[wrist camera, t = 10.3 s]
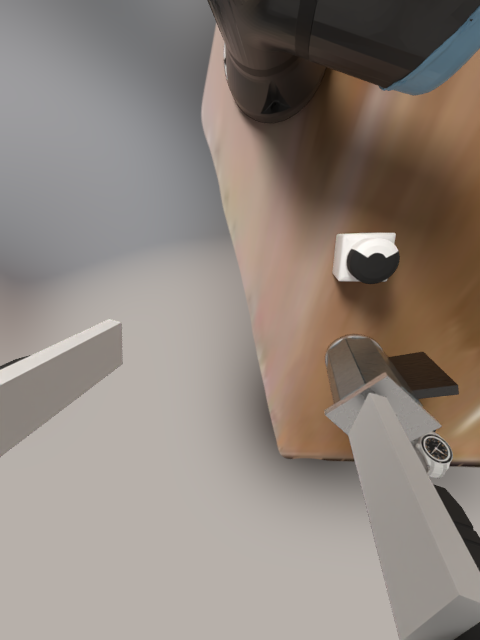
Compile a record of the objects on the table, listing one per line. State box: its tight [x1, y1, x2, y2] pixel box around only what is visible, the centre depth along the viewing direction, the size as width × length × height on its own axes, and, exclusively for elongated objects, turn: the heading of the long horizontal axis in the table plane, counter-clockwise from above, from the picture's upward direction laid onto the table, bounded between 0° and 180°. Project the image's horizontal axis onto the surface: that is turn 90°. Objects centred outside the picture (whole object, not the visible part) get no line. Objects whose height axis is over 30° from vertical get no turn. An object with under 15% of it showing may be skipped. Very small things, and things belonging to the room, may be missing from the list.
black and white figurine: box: [333, 232, 400, 284], centre depth 36 cm, size 7×7×12 cm
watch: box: [410, 430, 453, 478], centre depth 46 cm, size 6×8×11 cm
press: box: [325, 334, 459, 441], centre depth 40 cm, size 16×12×17 cm
